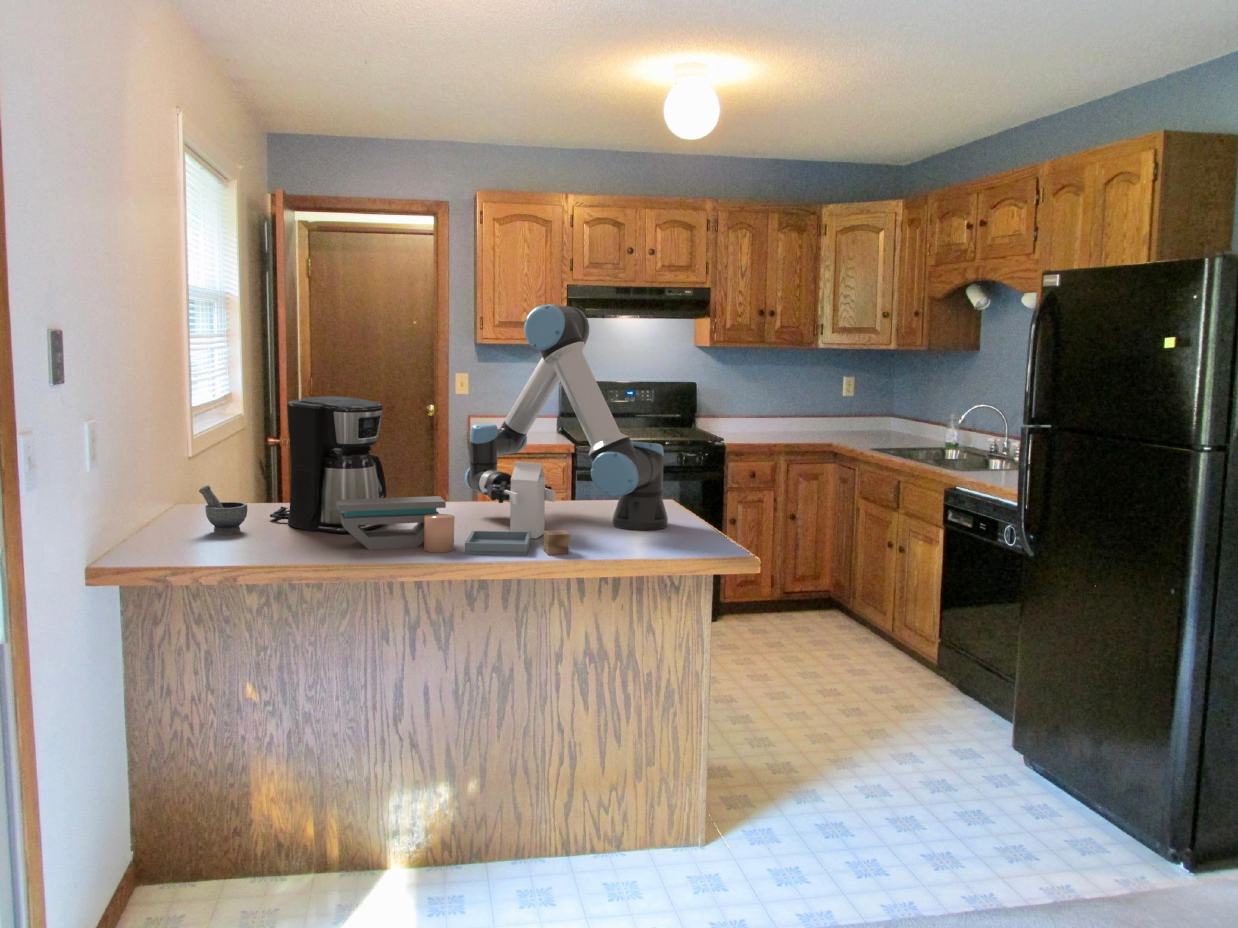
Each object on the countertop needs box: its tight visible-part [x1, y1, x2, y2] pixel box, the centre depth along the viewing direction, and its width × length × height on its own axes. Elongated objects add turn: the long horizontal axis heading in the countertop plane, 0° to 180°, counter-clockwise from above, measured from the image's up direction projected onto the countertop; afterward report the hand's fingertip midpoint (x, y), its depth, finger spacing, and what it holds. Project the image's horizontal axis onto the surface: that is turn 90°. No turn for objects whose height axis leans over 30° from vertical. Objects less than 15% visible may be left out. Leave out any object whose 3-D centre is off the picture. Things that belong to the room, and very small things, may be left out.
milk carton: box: [509, 461, 546, 539], centre depth 253 cm, size 7×7×19 cm
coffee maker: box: [269, 395, 387, 535], centre depth 259 cm, size 23×32×34 cm
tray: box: [464, 530, 532, 556], centre depth 239 cm, size 15×15×3 cm
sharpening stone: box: [336, 495, 447, 550], centre depth 239 cm, size 25×8×11 cm, turn 111°
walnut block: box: [543, 529, 570, 556], centre depth 235 cm, size 5×5×5 cm
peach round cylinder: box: [423, 513, 455, 553], centre depth 235 cm, size 7×7×8 cm
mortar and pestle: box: [198, 484, 248, 535], centre depth 248 cm, size 11×9×12 cm
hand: (535, 497), depth 249 cm, fingers closed on milk carton, 10 cm apart
